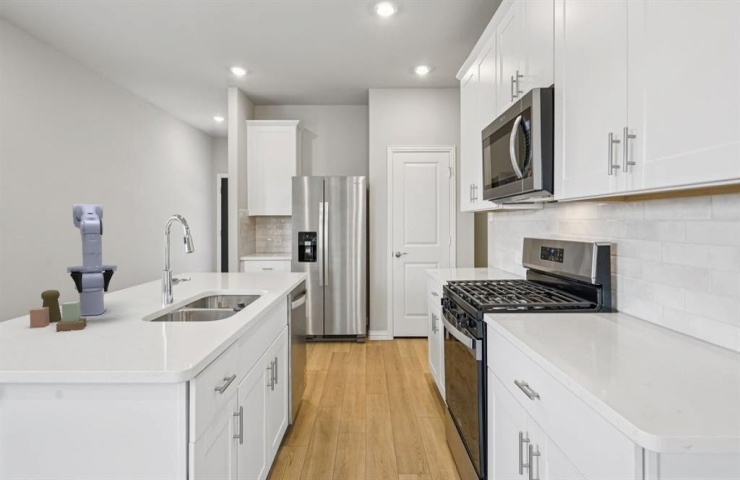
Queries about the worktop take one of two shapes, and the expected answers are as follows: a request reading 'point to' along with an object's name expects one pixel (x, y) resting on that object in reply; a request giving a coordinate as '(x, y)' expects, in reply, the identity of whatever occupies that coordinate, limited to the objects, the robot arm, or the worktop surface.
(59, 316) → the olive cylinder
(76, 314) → the sage block
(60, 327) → the walnut board
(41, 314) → the terracotta block
